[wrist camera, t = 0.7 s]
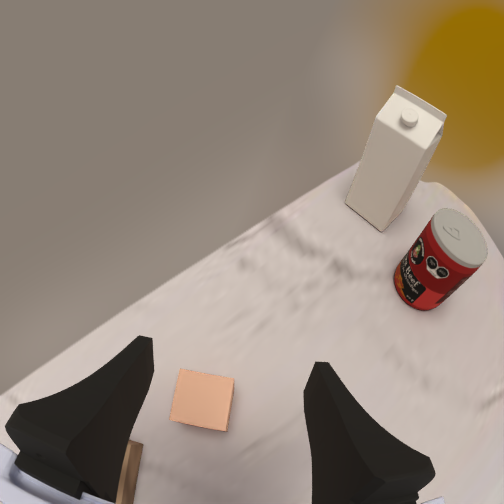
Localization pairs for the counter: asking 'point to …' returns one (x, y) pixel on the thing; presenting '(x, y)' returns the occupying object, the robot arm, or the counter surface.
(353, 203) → the milk carton
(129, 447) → the walnut base block
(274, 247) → the counter surface
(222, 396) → the terracotta block
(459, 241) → the canned food
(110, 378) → the robot arm
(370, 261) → the counter surface
